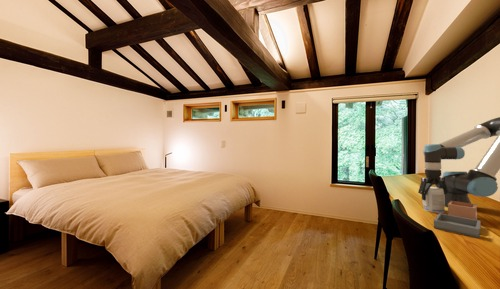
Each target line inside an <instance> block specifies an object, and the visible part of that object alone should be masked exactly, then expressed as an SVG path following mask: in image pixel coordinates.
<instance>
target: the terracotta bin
mask: <svg viewBox="0 0 500 289" xmlns="http://www.w3.org/2000/svg"><path fill="white" fill-rule="evenodd" d="M477 206H478V205H477V204H475V203H472V202H471V203H464V202H457V201H450V202H449V203H448V207H447V212H448V213H447V215H452V216H457V217H463V218H468V219H474V220H478V211H477V210H478V207H477Z"/></svg>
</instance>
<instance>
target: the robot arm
mask: <svg viewBox="0 0 500 289" xmlns="http://www.w3.org/2000/svg"><path fill="white" fill-rule="evenodd" d="M492 137H496V138H495V139H494V141H493V143H492V144H491V145H490V147H489V148H488V150H486V152H485V153H484V155H483V156H482V158H481V159H480V161H479V162H478V163H477V165H476V166H475V168H471V169H469V170H468V172H467V171H444V172H442V160H454V161H455V160H462V159H463V158H464V157H465V155H466V154H465V153H466V152H465V149H464V147H466V146H468V145H471V144H473V143H476V142H478V141H479V140H482V139H489V138H492ZM423 148H424V149H423V152H422V153H423V156H424V168H425V169H424V176H426V177H421V178H420V179H421V182H420V184H419V189H418V191H417V194H420V195H421V200H422V206H424V205H425V206H428V195H426V194H427V192H428V191H429V189H430V187H433V185H435V187H437V188H442V189H443V191H444V205H445V207H447V208H448V203H449V202H450V201H457V202H464V203H471V204H472V202H471V199H470V197H469V195H472V196H475V197H482V198H487V197H491V196H493V195H494V194H495V193H497V191H498V188H499V187H498V182H497V180H498V179H497V176H496V175H497V173H498V172H499V171H500V116H499V117H495V118H492V119H489V120H487V121H484V122H482V123H480V124H477V125H476V126H474V128H473V129H470V130H468V131H466V132H463V133H461V134H459V135H457V136H454V137H452V138H449V139H448V140H445V141H443V142H440V143H438V144H437V143H436V144H435V143H434V144H431V143H429V144H428V143H427V144H425V145H424V147H423ZM424 192H425V193H424Z"/></svg>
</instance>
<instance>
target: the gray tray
mask: <svg viewBox="0 0 500 289" xmlns="http://www.w3.org/2000/svg"><path fill="white" fill-rule="evenodd" d="M481 223H482V222H481V220H478V219H477V220H474V219H468V218H463V217H457V216H452V215H448V214H446V213H437V215H436V216H435V218H434V219H433V229H436V230H441V231H445V232H449V233H455V234H458V233H459V235H462V234H464V235H463V236H466V237H472V238H475V239H480V235H481V234H480V233H481V226H482V224H481Z"/></svg>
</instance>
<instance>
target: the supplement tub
mask: <svg viewBox="0 0 500 289" xmlns="http://www.w3.org/2000/svg"><path fill="white" fill-rule="evenodd" d="M424 193H425V192H424ZM426 195H428V206H425V205H423V210H424V211H427V212H431V213H436V214H439V213H441V214H445V213H446V208H445V207H446V206H445V205H444V191H443V189H442V188H437V187H436V186H435V187H434V186H431V187H430V189H429V191H428V192H427V194H426Z"/></svg>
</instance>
